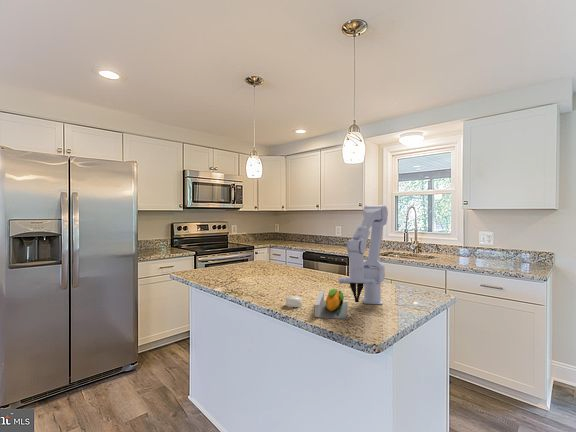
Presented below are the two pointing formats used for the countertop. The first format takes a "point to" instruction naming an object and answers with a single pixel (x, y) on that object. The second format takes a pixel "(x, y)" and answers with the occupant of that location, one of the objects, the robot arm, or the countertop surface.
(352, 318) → the countertop surface
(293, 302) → the white glossy round part
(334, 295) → the toy fruit
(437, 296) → the countertop surface
